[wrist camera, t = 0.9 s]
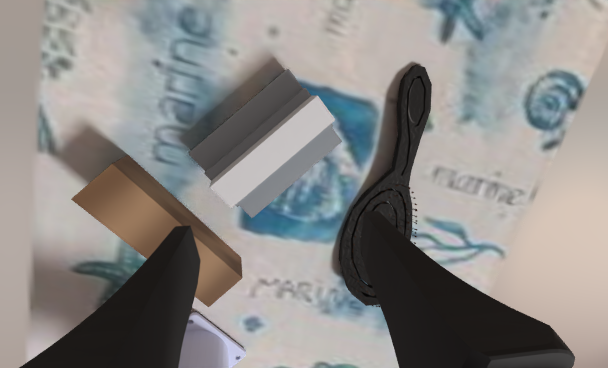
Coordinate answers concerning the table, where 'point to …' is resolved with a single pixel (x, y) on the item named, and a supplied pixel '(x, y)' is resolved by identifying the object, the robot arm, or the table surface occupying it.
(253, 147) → the ridge stand
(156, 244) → the walnut stick
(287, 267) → the table surface
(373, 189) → the hairbrush
